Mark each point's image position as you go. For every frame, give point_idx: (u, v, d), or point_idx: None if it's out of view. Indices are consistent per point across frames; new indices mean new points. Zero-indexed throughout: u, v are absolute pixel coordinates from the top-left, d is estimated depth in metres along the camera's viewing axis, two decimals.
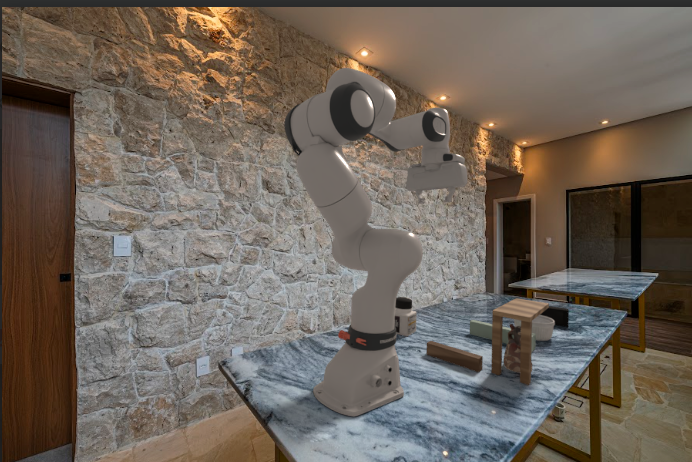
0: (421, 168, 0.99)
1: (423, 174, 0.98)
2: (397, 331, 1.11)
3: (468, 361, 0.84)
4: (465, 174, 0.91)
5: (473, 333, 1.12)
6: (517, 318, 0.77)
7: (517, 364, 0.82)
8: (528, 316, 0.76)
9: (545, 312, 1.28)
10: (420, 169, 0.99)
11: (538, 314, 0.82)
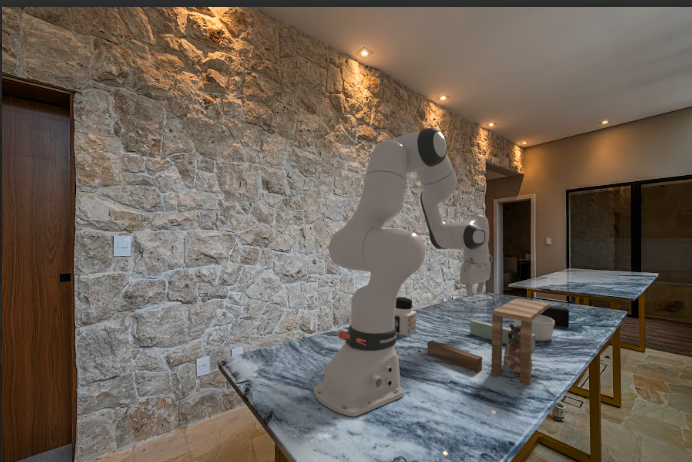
0: (476, 265, 1.08)
1: (476, 270, 1.09)
2: (397, 331, 1.11)
3: (467, 362, 0.84)
4: None
5: (473, 333, 1.12)
6: (517, 318, 0.77)
7: (517, 364, 0.82)
8: (528, 316, 0.76)
9: (545, 312, 1.28)
10: (476, 265, 1.08)
11: (538, 314, 0.82)
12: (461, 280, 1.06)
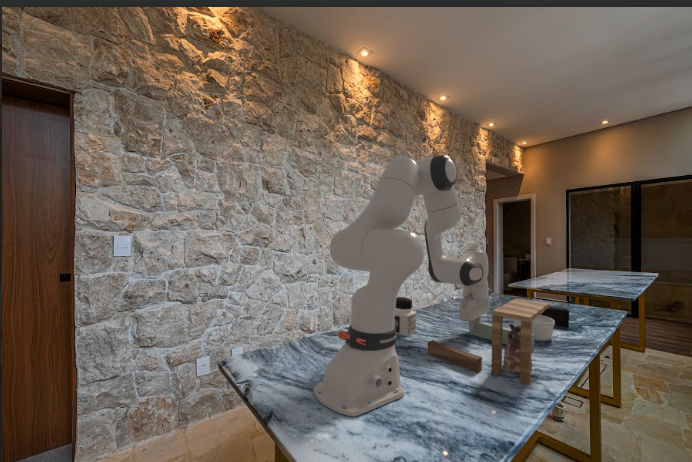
0: (475, 300, 1.09)
1: (475, 306, 1.09)
2: (397, 331, 1.11)
3: (467, 362, 0.84)
4: None
5: (472, 333, 1.12)
6: (517, 318, 0.77)
7: (517, 364, 0.82)
8: (528, 316, 0.76)
9: (545, 312, 1.27)
10: (475, 301, 1.08)
11: (538, 314, 0.82)
12: (460, 316, 1.06)
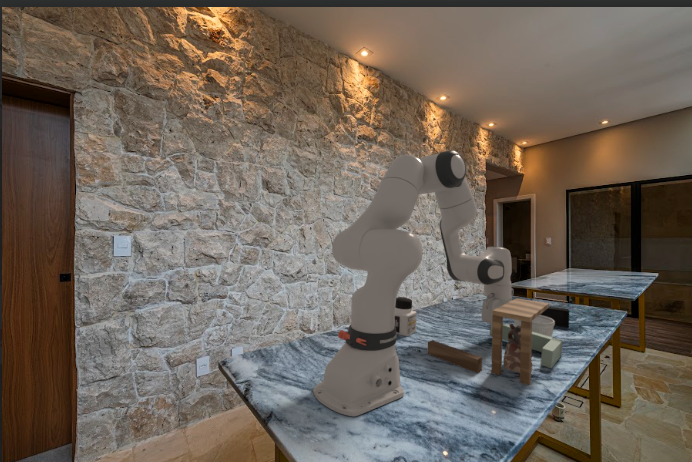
0: (498, 300, 1.03)
1: (498, 306, 1.04)
2: (397, 331, 1.11)
3: (467, 362, 0.84)
4: None
5: None
6: (517, 318, 0.77)
7: (517, 364, 0.82)
8: (528, 316, 0.76)
9: (545, 312, 1.27)
10: (498, 301, 1.03)
11: (538, 314, 0.82)
12: (483, 317, 1.01)
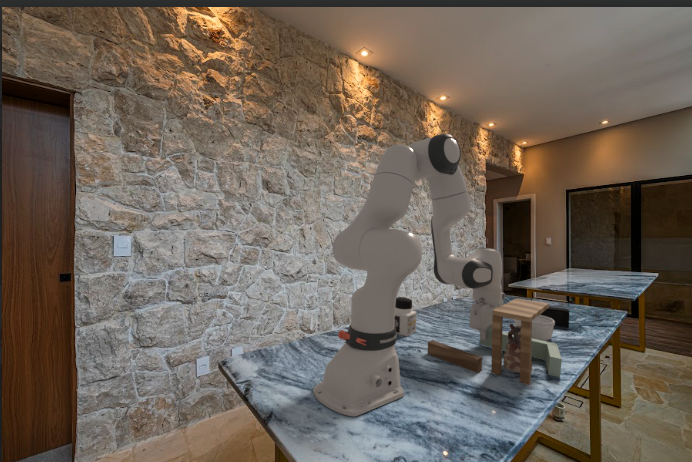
0: (487, 305, 0.96)
1: (487, 312, 0.96)
2: (397, 331, 1.11)
3: (467, 362, 0.84)
4: None
5: (484, 343, 0.99)
6: (517, 318, 0.77)
7: (517, 364, 0.82)
8: (528, 316, 0.76)
9: (545, 312, 1.27)
10: (487, 307, 0.95)
11: (538, 314, 0.82)
12: (471, 324, 0.93)
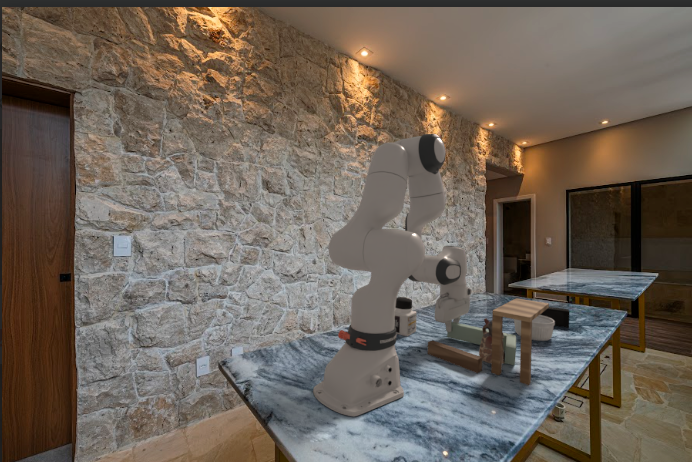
0: (452, 300, 1.02)
1: (452, 306, 1.03)
2: (397, 331, 1.11)
3: (467, 362, 0.84)
4: None
5: (451, 336, 1.05)
6: (517, 318, 0.77)
7: None
8: (528, 316, 0.76)
9: (546, 312, 1.27)
10: (452, 301, 1.02)
11: (538, 314, 0.82)
12: (436, 317, 1.00)
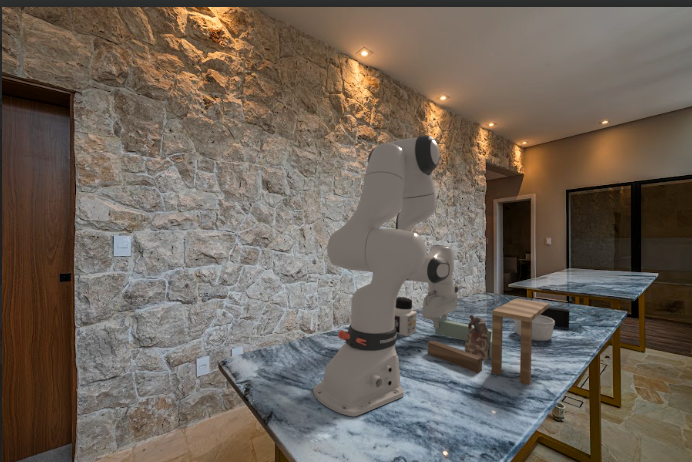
0: (439, 297, 1.05)
1: (440, 303, 1.06)
2: (397, 331, 1.11)
3: (467, 362, 0.84)
4: None
5: (439, 332, 1.08)
6: (517, 318, 0.77)
7: (478, 351, 0.91)
8: (528, 316, 0.76)
9: (546, 312, 1.26)
10: (439, 298, 1.05)
11: (538, 314, 0.82)
12: (423, 314, 1.03)
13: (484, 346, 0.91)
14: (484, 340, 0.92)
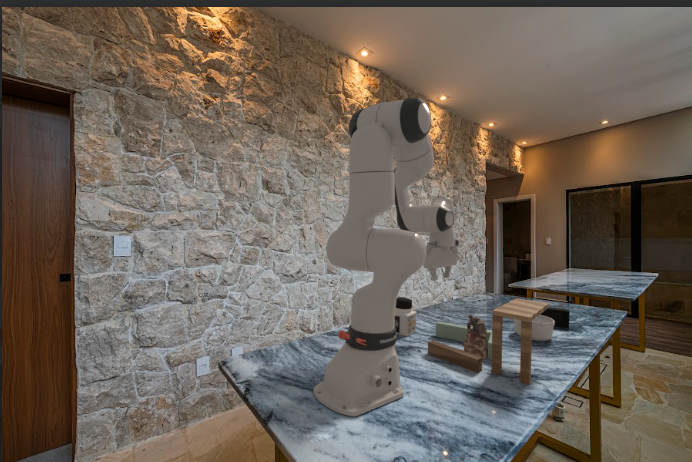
0: (440, 248, 1.06)
1: (440, 254, 1.06)
2: (397, 331, 1.11)
3: (467, 362, 0.84)
4: None
5: (439, 335, 1.09)
6: (517, 318, 0.77)
7: (477, 351, 0.91)
8: (528, 316, 0.76)
9: (546, 313, 1.26)
10: (440, 249, 1.05)
11: (538, 314, 0.82)
12: (424, 263, 1.03)
13: (483, 346, 0.91)
14: (482, 340, 0.92)
